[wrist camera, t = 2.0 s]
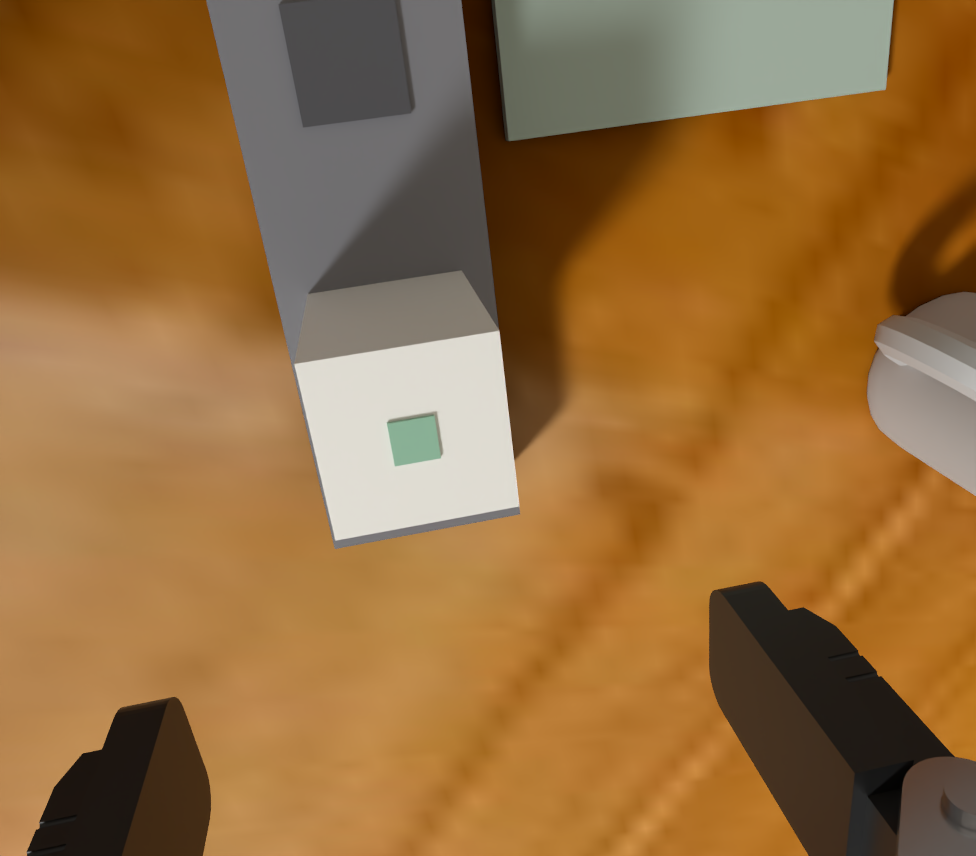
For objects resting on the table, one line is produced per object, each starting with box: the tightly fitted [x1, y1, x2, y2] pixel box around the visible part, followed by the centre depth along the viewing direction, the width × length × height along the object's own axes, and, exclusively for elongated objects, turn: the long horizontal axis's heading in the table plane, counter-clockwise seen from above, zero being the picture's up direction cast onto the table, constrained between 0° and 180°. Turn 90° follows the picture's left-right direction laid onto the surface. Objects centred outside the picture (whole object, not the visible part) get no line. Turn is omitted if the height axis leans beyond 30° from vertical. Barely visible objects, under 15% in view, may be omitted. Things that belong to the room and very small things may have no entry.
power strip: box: [206, 0, 520, 549], centre depth 23 cm, size 34×7×4 cm, turn 7°
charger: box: [294, 270, 519, 541], centre depth 24 cm, size 5×5×9 cm
